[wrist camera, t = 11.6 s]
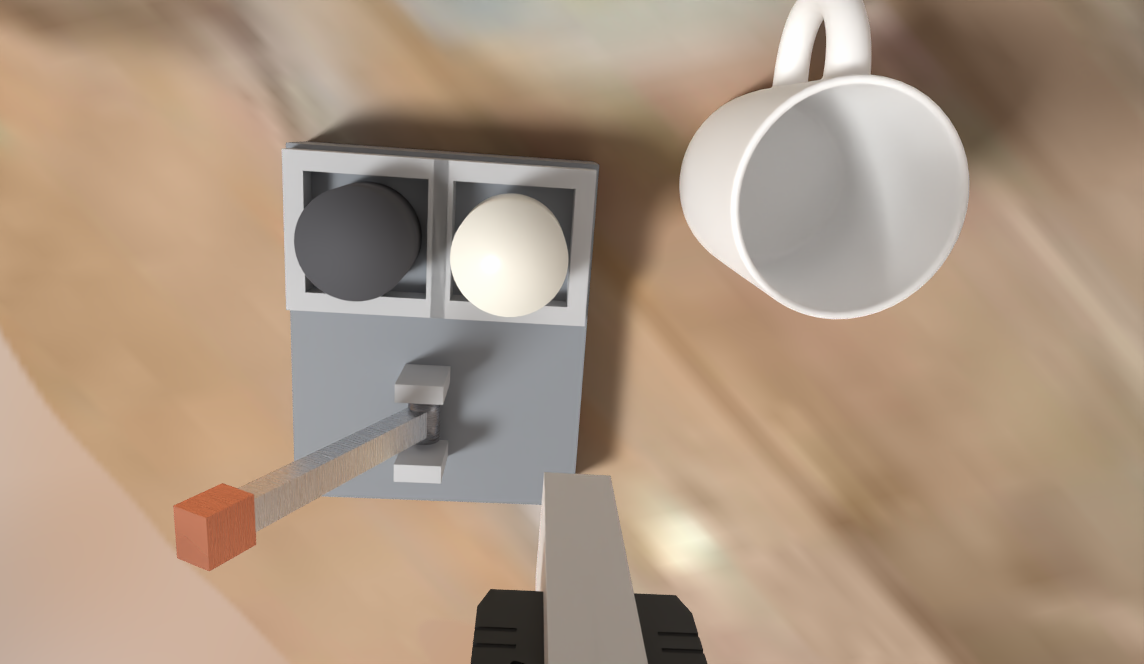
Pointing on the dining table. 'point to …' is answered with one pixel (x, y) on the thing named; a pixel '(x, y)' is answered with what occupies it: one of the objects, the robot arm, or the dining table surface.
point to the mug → (828, 176)
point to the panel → (442, 331)
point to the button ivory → (509, 255)
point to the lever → (292, 487)
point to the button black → (357, 240)
